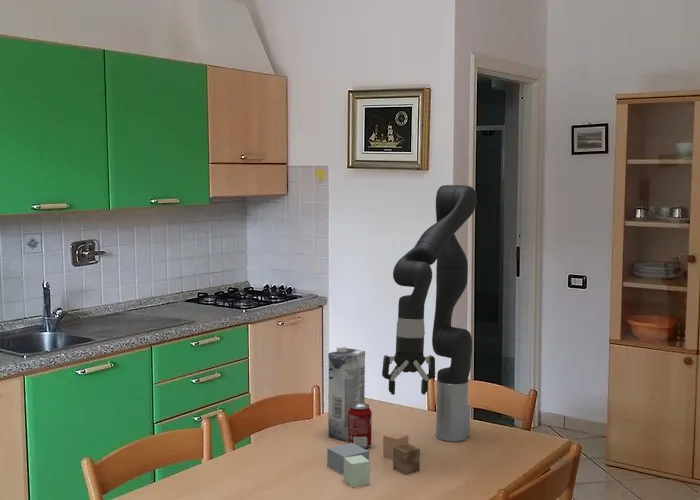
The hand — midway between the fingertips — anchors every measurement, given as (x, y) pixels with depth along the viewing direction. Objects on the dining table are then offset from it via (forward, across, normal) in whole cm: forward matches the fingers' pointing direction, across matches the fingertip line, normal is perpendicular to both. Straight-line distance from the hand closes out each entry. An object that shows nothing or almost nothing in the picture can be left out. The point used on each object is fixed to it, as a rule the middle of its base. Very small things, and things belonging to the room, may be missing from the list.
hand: (407, 394), depth 213 cm
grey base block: (+20, +16, +1) cm, 25 cm away
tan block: (+19, +1, -6) cm, 20 cm away
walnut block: (+19, +1, +5) cm, 20 cm away
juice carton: (+19, +12, -25) cm, 34 cm away
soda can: (+19, +10, -15) cm, 26 cm away
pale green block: (+20, +15, +11) cm, 28 cm away
